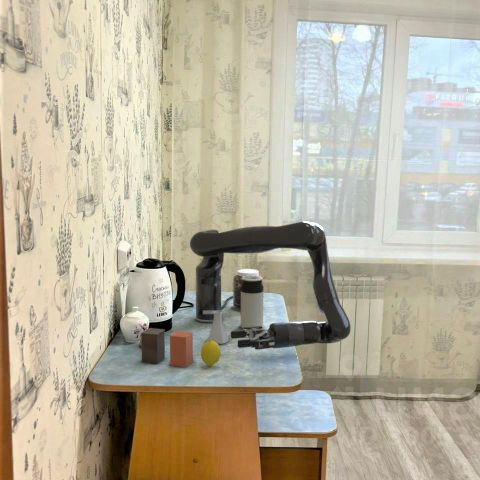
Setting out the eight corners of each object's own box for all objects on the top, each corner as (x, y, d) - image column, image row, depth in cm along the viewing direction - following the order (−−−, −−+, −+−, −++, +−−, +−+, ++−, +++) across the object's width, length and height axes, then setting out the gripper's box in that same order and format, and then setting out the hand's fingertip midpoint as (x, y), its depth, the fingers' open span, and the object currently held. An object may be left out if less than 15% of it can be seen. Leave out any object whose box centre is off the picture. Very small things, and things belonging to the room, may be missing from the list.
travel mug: (252, 331, 207) (253, 281, 204) (235, 327, 211) (236, 277, 208) (267, 326, 213) (268, 277, 210) (251, 322, 218) (251, 274, 215)
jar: (266, 305, 241) (266, 269, 238) (257, 313, 229) (258, 275, 227) (238, 303, 243) (238, 267, 241) (228, 310, 232) (228, 273, 230)
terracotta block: (177, 359, 178) (177, 330, 177) (192, 361, 177) (192, 332, 176) (170, 365, 174) (169, 335, 172) (186, 367, 173) (185, 337, 171)
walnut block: (149, 356, 180) (149, 328, 179) (164, 358, 179) (164, 329, 178) (141, 362, 176) (141, 332, 174) (157, 364, 175) (156, 334, 173)
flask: (224, 345, 192) (224, 315, 190) (203, 343, 193) (203, 313, 192) (231, 338, 199) (232, 309, 197) (211, 336, 200) (211, 307, 199)
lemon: (201, 363, 176) (201, 337, 175) (220, 363, 177) (220, 337, 175) (200, 370, 171) (200, 343, 169) (219, 369, 171) (220, 343, 170)
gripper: (279, 316, 186) (228, 320, 181) (294, 329, 173) (240, 334, 168) (279, 339, 187) (228, 344, 182) (294, 354, 174) (240, 359, 169)
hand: (234, 339), depth 175 cm, fingers open, 8 cm apart
